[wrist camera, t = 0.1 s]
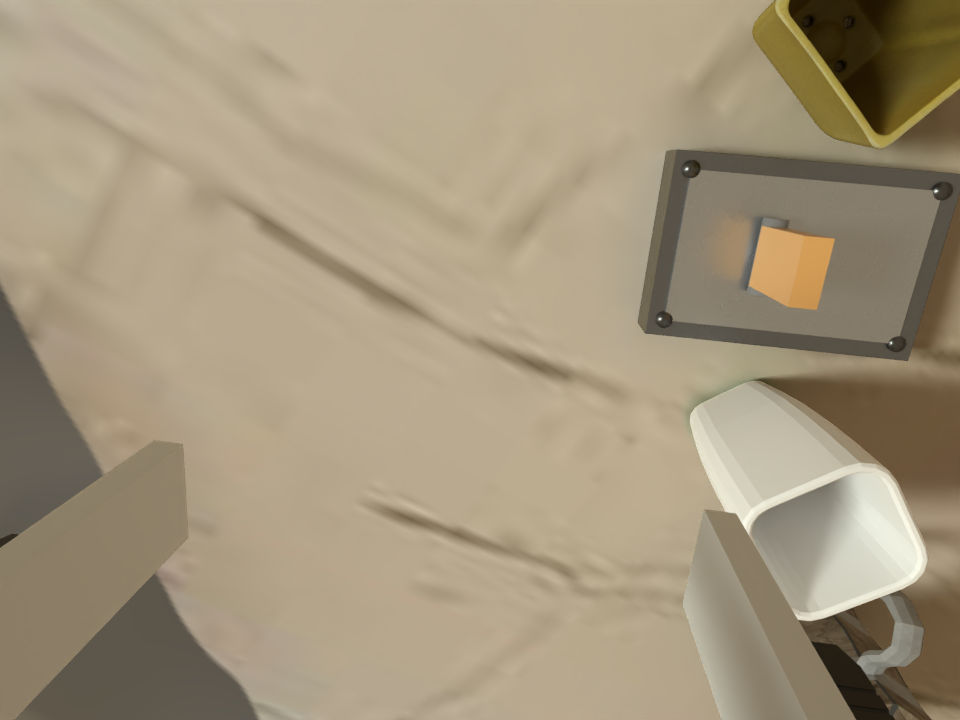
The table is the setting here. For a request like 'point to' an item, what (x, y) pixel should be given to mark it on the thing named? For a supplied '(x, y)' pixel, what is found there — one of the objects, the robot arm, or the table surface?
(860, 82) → the flower pot
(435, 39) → the table surface
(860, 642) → the mug
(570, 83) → the table surface
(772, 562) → the cup
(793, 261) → the paddle
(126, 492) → the robot arm
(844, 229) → the panel
